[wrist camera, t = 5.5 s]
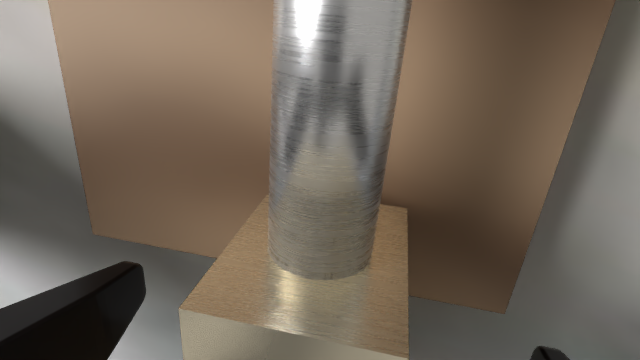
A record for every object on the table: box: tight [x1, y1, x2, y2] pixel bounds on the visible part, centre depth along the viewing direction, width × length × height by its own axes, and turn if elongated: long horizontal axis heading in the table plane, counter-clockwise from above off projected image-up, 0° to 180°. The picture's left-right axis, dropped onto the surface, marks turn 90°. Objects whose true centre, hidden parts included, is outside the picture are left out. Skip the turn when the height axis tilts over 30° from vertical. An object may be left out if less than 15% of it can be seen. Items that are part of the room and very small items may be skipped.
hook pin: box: [178, 0, 412, 360], centre depth 7 cm, size 14×7×4 cm, turn 176°
